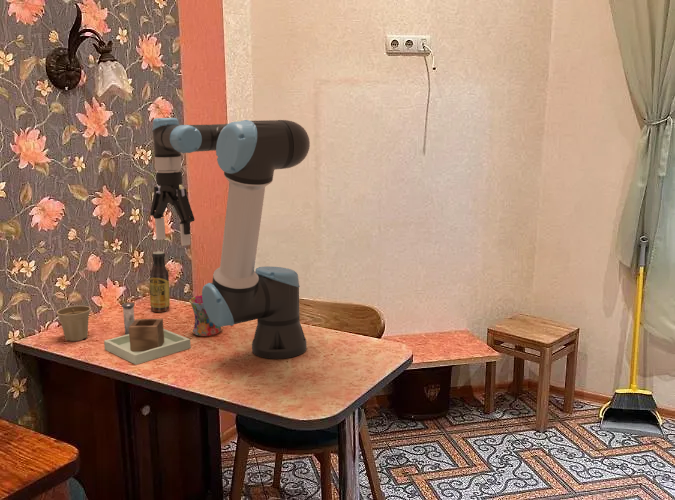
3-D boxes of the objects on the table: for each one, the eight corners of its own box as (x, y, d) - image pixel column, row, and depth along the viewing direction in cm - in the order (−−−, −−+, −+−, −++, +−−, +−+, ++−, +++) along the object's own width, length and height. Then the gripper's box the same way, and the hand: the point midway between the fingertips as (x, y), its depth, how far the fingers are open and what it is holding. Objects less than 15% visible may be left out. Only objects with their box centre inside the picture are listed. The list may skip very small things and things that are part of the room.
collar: (164, 341, 190) (162, 318, 188) (157, 351, 183) (156, 326, 181) (138, 342, 190) (136, 318, 188) (130, 351, 182) (128, 327, 181)
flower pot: (53, 338, 196) (50, 310, 194) (84, 330, 203) (81, 303, 201) (68, 345, 190) (65, 316, 188) (99, 337, 196) (96, 309, 194)
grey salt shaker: (138, 333, 200) (136, 304, 198) (127, 336, 197) (125, 306, 195) (132, 330, 202) (130, 301, 200) (121, 333, 200) (119, 304, 198)
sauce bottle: (147, 312, 220) (143, 254, 216) (155, 307, 226) (151, 250, 222) (166, 313, 219) (162, 254, 215) (173, 307, 225) (170, 250, 221)
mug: (206, 340, 193) (204, 305, 190) (184, 334, 198) (182, 300, 196) (235, 329, 202) (234, 295, 200) (213, 324, 207) (212, 291, 205)
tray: (190, 348, 186) (190, 339, 186) (135, 364, 175) (135, 355, 174) (158, 334, 198) (157, 326, 198) (104, 349, 186) (104, 340, 186)
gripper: (204, 172, 189) (208, 245, 193) (157, 168, 206) (161, 235, 210) (181, 174, 184) (185, 249, 188) (135, 170, 201) (140, 238, 205)
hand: (173, 242), depth 199 cm, fingers open, 13 cm apart
